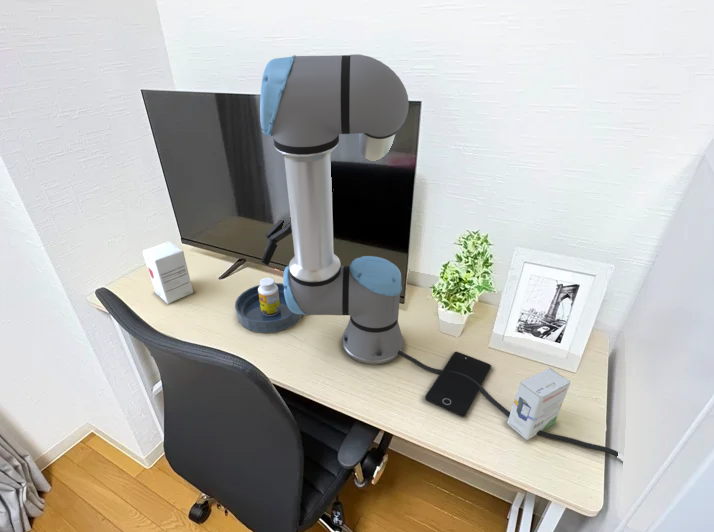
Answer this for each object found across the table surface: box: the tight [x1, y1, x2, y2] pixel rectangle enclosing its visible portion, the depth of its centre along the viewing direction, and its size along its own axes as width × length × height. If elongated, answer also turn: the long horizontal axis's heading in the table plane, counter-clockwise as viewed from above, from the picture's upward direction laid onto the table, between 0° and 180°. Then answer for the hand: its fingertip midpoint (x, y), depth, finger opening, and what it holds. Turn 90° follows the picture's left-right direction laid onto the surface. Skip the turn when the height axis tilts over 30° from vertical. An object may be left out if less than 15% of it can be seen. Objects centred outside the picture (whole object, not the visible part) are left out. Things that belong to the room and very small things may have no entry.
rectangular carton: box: [142, 241, 194, 305], centre depth 125 cm, size 9×9×15 cm
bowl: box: [234, 282, 304, 334], centre depth 118 cm, size 19×19×4 cm
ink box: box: [506, 367, 572, 441], centre depth 81 cm, size 9×5×12 cm, turn 118°
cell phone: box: [424, 351, 492, 418], centre depth 94 cm, size 9×18×1 cm, turn 144°
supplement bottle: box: [258, 277, 280, 316], centre depth 116 cm, size 6×6×10 cm
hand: (281, 270), depth 116 cm, fingers open, 13 cm apart
